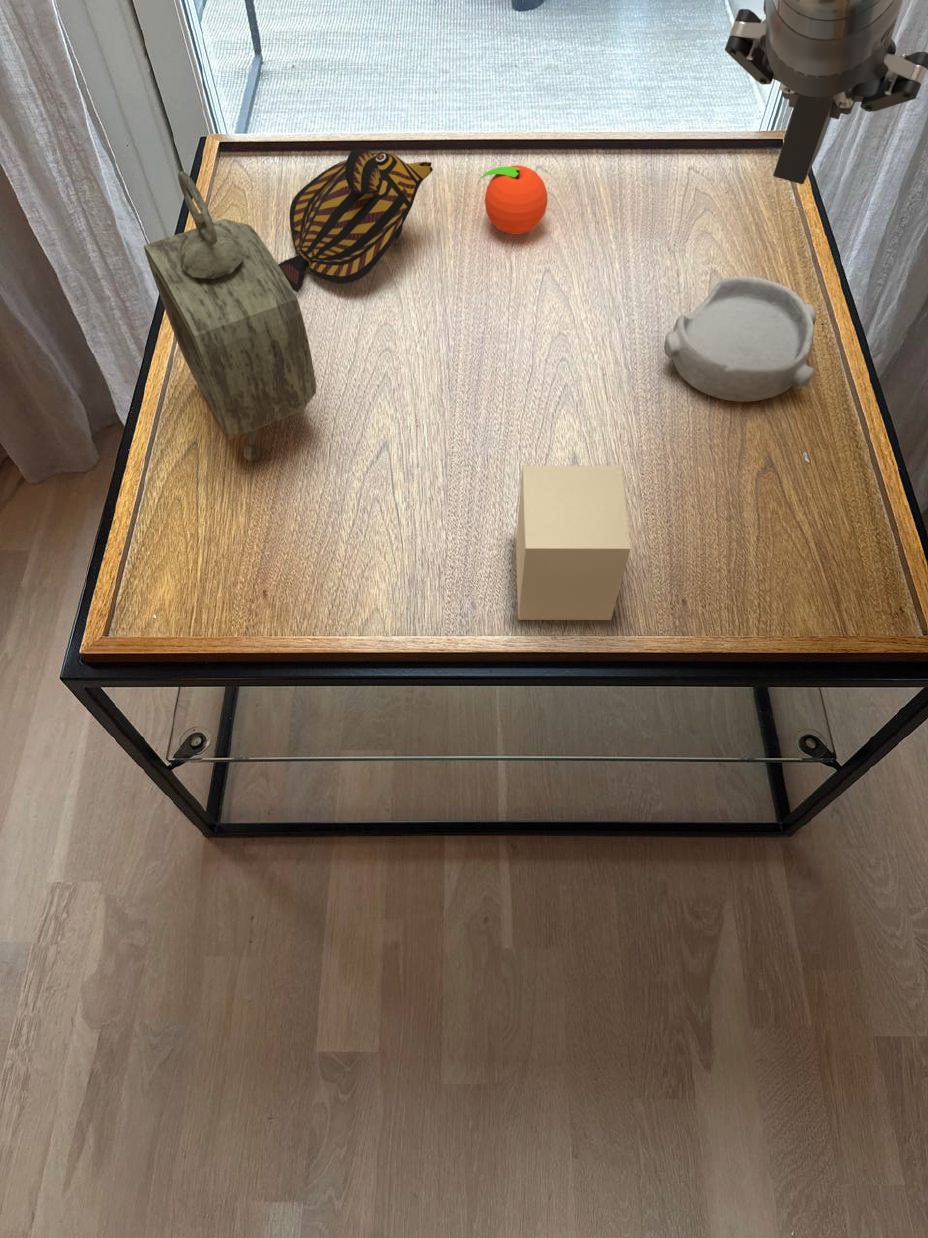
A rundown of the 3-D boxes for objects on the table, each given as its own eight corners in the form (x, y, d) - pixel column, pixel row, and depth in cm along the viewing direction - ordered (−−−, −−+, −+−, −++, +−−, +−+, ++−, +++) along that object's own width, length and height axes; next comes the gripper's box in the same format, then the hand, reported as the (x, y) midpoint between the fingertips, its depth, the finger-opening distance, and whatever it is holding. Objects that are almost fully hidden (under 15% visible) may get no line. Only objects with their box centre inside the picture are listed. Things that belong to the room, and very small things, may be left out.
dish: (649, 383, 92) (658, 346, 88) (691, 296, 99) (701, 257, 94) (790, 429, 89) (807, 392, 85) (824, 336, 96) (841, 297, 91)
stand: (604, 543, 83) (622, 465, 73) (611, 620, 79) (631, 548, 69) (515, 543, 83) (522, 465, 73) (518, 620, 79) (525, 548, 69)
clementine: (468, 239, 103) (468, 182, 97) (484, 201, 107) (485, 143, 100) (537, 252, 102) (541, 195, 96) (551, 213, 105) (556, 155, 99)
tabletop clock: (190, 379, 93) (106, 146, 71) (273, 348, 95) (216, 113, 73) (244, 479, 87) (170, 257, 65) (331, 444, 89) (288, 217, 67)
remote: (819, 149, 73) (857, 44, 66) (802, 184, 71) (839, 80, 64) (788, 140, 74) (822, 35, 67) (770, 175, 71) (803, 71, 64)
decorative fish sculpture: (406, 309, 98) (399, 213, 88) (265, 284, 100) (242, 187, 90) (440, 225, 104) (438, 127, 94) (307, 203, 106) (291, 105, 96)
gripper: (985, -43, 51) (934, 68, 67) (743, -95, 54) (750, 22, 70) (924, 102, 53) (888, 175, 69) (694, 43, 56) (711, 127, 72)
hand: (818, 98), depth 70 cm, fingers closed on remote, 2 cm apart
